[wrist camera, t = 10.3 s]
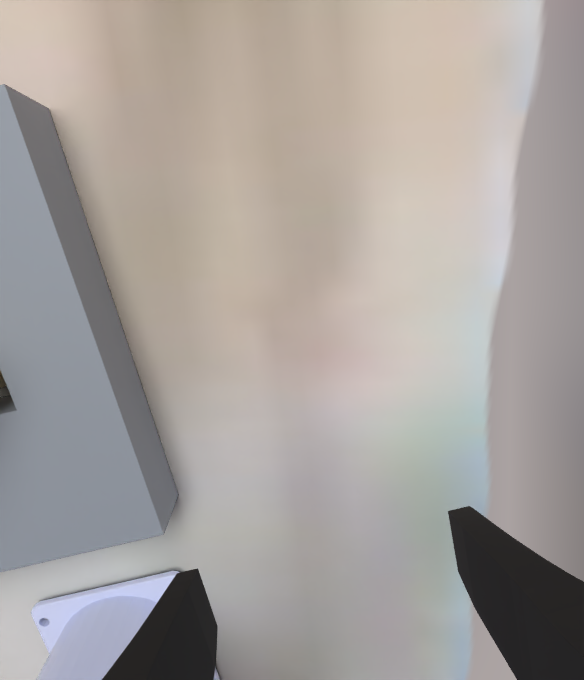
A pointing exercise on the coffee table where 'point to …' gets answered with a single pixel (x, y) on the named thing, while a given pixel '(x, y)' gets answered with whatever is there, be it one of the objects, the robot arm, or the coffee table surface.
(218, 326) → the coffee table surface
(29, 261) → the grey flat block
